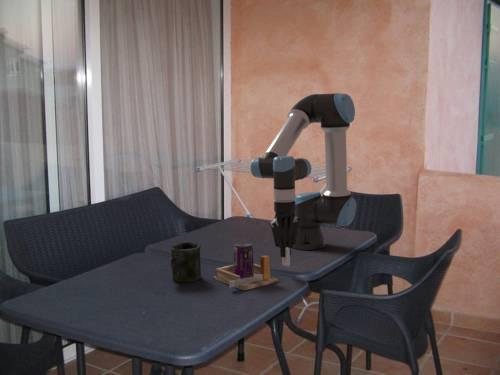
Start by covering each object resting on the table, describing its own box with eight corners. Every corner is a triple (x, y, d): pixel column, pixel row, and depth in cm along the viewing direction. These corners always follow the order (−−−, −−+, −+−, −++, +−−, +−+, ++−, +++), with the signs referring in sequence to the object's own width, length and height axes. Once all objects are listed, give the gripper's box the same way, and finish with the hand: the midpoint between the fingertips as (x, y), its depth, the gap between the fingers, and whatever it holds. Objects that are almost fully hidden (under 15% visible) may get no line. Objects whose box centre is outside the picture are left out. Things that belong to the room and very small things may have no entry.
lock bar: (266, 277, 211) (265, 255, 210) (269, 278, 209) (269, 256, 208) (228, 286, 201) (227, 263, 200) (232, 288, 200) (231, 264, 199)
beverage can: (251, 280, 209) (250, 246, 207) (231, 279, 210) (230, 246, 209) (255, 274, 216) (254, 242, 214) (236, 274, 217) (235, 241, 216)
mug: (207, 275, 219) (206, 243, 217) (187, 287, 206) (185, 253, 204) (182, 272, 224) (180, 241, 222) (160, 283, 210) (158, 250, 209)
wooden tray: (247, 270, 224) (246, 260, 224) (278, 281, 210) (278, 271, 209) (213, 278, 215) (213, 268, 215) (243, 290, 201) (243, 279, 200)
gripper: (291, 196, 218) (292, 259, 222) (263, 201, 210) (265, 266, 214) (305, 199, 212) (306, 264, 216) (277, 204, 204) (278, 271, 208)
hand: (285, 265), depth 215 cm, fingers closed
